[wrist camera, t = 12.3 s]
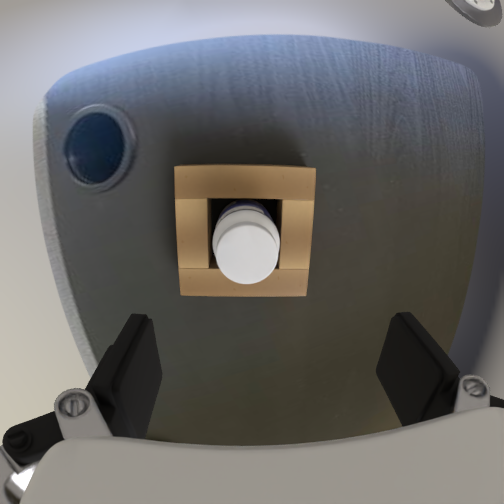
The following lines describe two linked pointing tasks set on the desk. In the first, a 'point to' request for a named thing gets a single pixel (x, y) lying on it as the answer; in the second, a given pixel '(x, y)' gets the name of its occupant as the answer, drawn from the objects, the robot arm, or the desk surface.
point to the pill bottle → (246, 242)
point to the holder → (254, 187)
